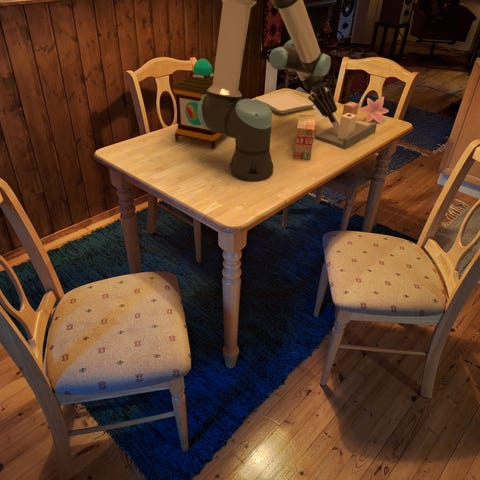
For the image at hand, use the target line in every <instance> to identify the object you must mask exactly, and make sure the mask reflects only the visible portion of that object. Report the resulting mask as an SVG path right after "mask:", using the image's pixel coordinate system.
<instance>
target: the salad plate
mask: <svg viewBox="0 0 480 480" xmlns="http://www.w3.org/2000/svg"><path fill="white" fill-rule="evenodd" d="M254 99H255V100H259V101H262V102H264V103H266V104H267V105H268V106H269V107H270V108H271V111H274V112H275V113H278V114H281V115H284V114H285V113H286V114H290V113H294V112H299V111H303V110H307V109H310V108H313V107H314V106H315V105H314V104H313V102H312V101H311V100H309V99H307V98H305V97H303V96H301V95H298V94H296V93H294V92H292V91H290V90H288V91H283V92H276V93H275V92H274V93H272V94H265V95H261V96H256V97H254Z"/></svg>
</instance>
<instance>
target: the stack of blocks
mask: <svg viewBox="0 0 480 480" xmlns="http://www.w3.org/2000/svg"><path fill="white" fill-rule="evenodd" d="M315 126H316V116H315V115H311V114H299V115H298V122H297V126H296V134H295V142H294V143H295V144H294V151H293V160H300V161H301V160H303V161H311V157H312V149H313V143H314V138H315V137H314V136H315V131H316V130H315V129H316V128H315Z"/></svg>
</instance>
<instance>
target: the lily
mask: <svg viewBox="0 0 480 480" xmlns="http://www.w3.org/2000/svg"><path fill="white" fill-rule="evenodd" d="M384 100H385V97H384V96H381V97H380V98H378V99H376V100H375V101H374V100H372V99H370V98H369V97H367V101H366V102H367V105H365V106H363V107H359V108H358V111H359V112H360V113H363V114H365V115H366V120H365V123H366V124H368V123H370V122H372V120H374V121H375V122H376V123H377V124H379V125H383V122H384V119H383V115H384V114H387V113H389V109H387V108H385V107H383V106H384V102H385V101H384Z"/></svg>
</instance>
